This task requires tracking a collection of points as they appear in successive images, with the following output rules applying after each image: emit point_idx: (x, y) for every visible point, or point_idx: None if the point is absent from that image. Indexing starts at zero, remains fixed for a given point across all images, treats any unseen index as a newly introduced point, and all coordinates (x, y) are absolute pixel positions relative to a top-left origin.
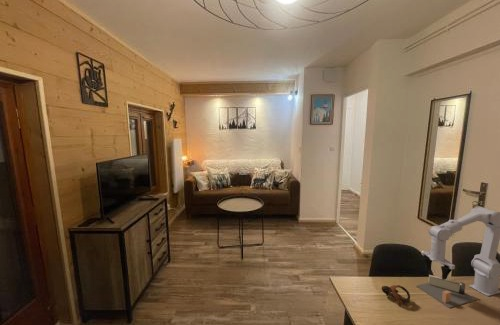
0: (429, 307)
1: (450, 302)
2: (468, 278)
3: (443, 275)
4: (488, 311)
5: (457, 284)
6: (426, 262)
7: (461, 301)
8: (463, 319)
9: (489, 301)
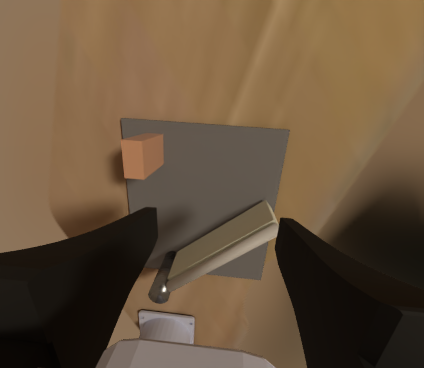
0: (149, 17)
1: None
2: None
3: (122, 221)
4: None
5: (173, 277)
6: (331, 267)
7: (138, 207)
8: (59, 102)
9: None
